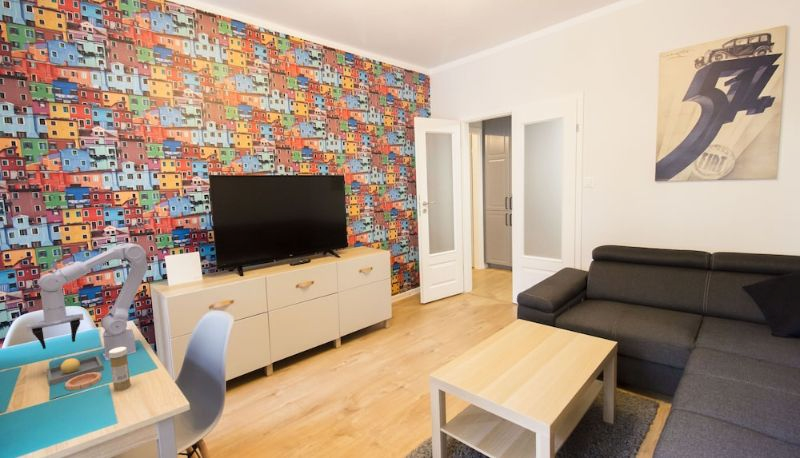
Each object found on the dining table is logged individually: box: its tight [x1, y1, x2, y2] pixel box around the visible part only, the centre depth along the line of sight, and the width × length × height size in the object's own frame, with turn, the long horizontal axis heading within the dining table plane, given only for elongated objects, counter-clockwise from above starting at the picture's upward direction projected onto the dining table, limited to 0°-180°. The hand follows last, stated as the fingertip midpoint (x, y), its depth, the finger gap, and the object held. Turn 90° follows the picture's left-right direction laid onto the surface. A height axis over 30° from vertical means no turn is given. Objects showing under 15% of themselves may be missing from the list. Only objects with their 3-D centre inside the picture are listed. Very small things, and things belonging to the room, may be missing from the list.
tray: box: [46, 355, 105, 387], centre depth 130 cm, size 14×12×2 cm
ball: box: [60, 357, 80, 373], centre depth 129 cm, size 5×5×5 cm
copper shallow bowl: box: [64, 372, 103, 391], centre depth 123 cm, size 9×9×2 cm
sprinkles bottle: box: [109, 347, 132, 393], centre depth 118 cm, size 5×5×13 cm
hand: (59, 344), depth 131 cm, fingers open, 7 cm apart
